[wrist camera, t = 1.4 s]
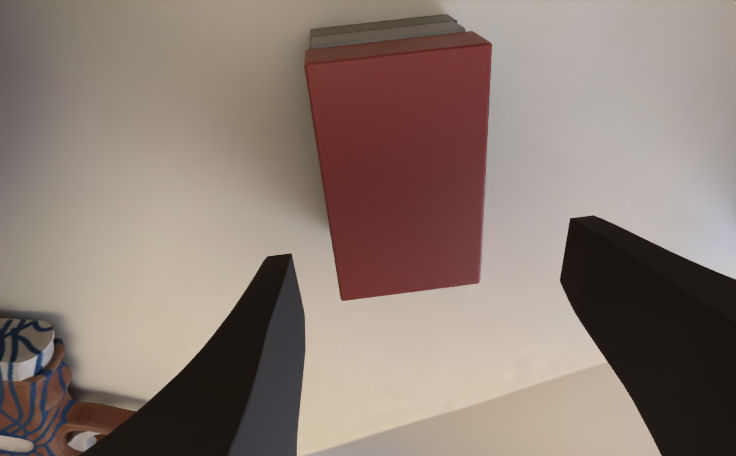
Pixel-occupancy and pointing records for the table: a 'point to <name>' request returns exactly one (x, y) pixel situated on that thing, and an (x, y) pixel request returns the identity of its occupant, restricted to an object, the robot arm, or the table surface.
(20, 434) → the handgun
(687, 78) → the table surface
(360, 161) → the oxblood book
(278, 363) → the robot arm
